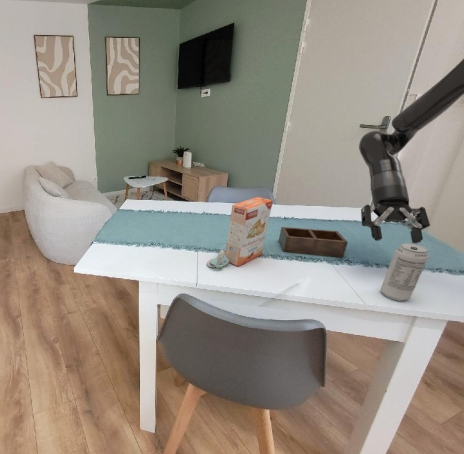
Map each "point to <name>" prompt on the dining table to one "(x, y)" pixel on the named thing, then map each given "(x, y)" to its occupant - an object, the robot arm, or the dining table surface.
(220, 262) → the pacifier
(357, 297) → the dining table surface
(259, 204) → the cracker box
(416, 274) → the energy drink can
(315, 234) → the wooden box with compartments
